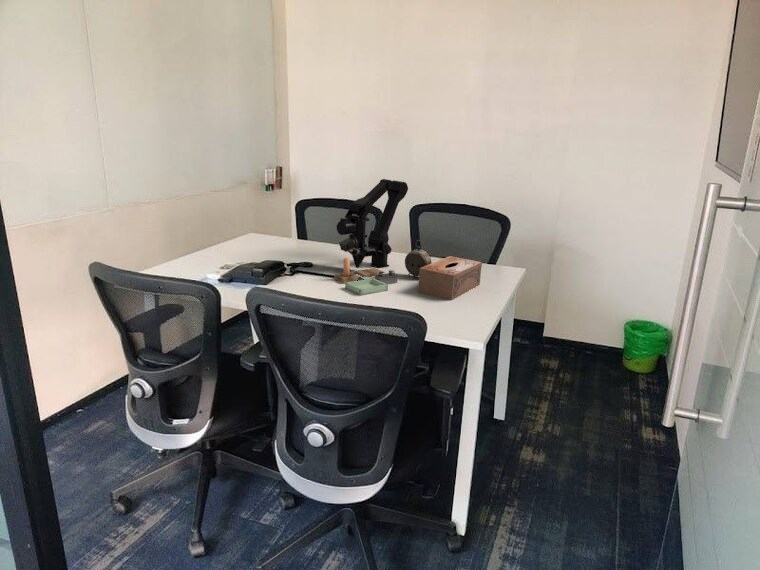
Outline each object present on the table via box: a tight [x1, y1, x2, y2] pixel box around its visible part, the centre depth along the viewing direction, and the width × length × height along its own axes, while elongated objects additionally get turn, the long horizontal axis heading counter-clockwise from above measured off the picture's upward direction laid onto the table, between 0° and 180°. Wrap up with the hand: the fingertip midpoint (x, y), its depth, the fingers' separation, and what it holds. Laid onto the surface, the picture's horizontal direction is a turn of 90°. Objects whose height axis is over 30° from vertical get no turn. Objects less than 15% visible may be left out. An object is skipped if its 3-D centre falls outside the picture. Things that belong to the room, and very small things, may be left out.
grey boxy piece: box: [374, 270, 399, 285], centre depth 228 cm, size 9×3×5 cm, turn 127°
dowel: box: [343, 257, 351, 277], centre depth 229 cm, size 2×2×9 cm
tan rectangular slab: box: [354, 267, 384, 277], centre depth 237 cm, size 10×7×2 cm
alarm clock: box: [404, 239, 432, 279], centre depth 236 cm, size 11×5×16 cm, turn 55°
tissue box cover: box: [417, 255, 483, 301], centre depth 224 cm, size 26×14×10 cm, turn 147°
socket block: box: [333, 272, 359, 285], centre depth 230 cm, size 7×7×2 cm
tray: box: [345, 278, 389, 297], centre depth 219 cm, size 13×10×2 cm
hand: (357, 267), depth 244 cm, fingers closed
